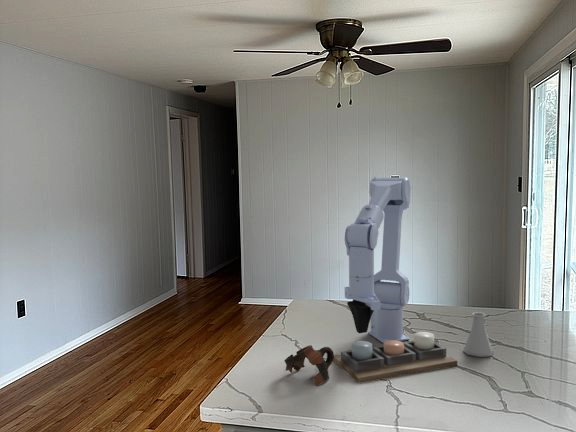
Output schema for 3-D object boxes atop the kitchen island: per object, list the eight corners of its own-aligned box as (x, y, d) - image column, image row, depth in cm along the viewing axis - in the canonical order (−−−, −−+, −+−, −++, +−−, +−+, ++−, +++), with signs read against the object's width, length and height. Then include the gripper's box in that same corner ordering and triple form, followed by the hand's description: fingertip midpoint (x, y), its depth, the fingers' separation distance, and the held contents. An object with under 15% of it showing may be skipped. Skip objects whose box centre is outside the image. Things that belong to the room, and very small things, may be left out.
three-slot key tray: (332, 360, 128) (332, 347, 128) (423, 345, 137) (423, 334, 136) (358, 383, 115) (358, 369, 115) (457, 365, 124) (457, 352, 123)
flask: (496, 358, 127) (496, 319, 126) (464, 357, 129) (465, 317, 128) (490, 348, 134) (491, 310, 133) (461, 346, 136) (461, 309, 135)
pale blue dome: (348, 355, 124) (348, 342, 124) (366, 352, 126) (366, 339, 126) (357, 362, 120) (357, 349, 120) (376, 359, 122) (375, 346, 121)
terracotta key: (380, 354, 127) (380, 341, 127) (397, 351, 129) (397, 339, 128) (390, 361, 123) (390, 348, 122) (407, 358, 124) (407, 345, 124)
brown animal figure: (309, 393, 112) (291, 358, 113) (291, 396, 120) (274, 364, 121) (349, 366, 118) (331, 333, 120) (329, 371, 126) (312, 340, 127)
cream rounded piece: (410, 345, 130) (410, 333, 130) (426, 343, 131) (427, 330, 131) (421, 352, 125) (421, 339, 125) (438, 349, 127) (438, 336, 127)
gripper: (332, 270, 126) (333, 324, 128) (360, 283, 113) (360, 344, 114) (359, 267, 129) (359, 321, 130) (388, 280, 115) (388, 340, 116)
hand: (361, 331), depth 122 cm, fingers closed
